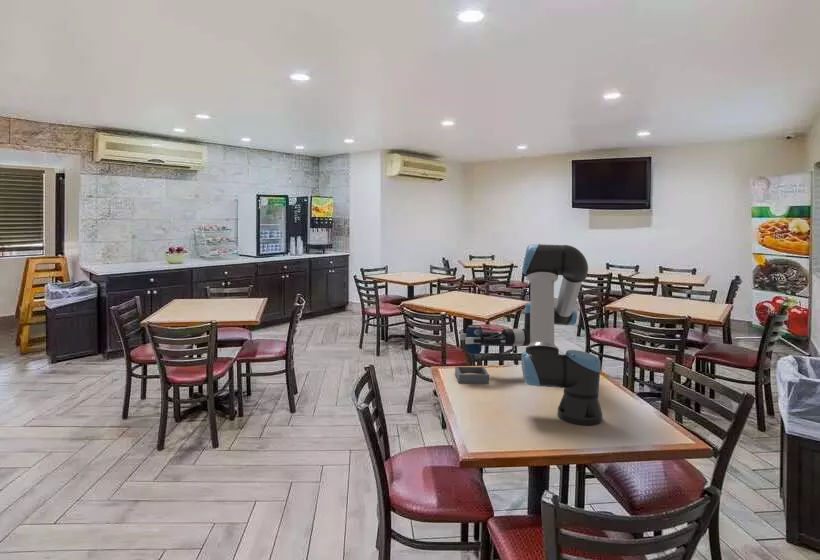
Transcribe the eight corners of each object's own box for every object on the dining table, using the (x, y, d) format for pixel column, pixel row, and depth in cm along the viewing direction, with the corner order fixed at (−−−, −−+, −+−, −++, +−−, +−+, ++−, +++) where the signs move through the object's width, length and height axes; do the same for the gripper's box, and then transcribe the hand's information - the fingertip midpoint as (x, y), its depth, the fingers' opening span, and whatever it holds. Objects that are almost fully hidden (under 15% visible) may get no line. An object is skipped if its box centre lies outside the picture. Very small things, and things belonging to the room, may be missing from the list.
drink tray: (489, 383, 214) (489, 375, 214) (458, 382, 214) (459, 374, 214) (483, 374, 227) (483, 366, 227) (455, 373, 227) (455, 366, 227)
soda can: (482, 355, 216) (483, 327, 215) (466, 355, 216) (467, 327, 215) (479, 351, 223) (480, 324, 222) (464, 350, 223) (465, 324, 222)
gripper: (521, 351, 214) (470, 352, 209) (502, 340, 233) (455, 341, 228) (522, 333, 213) (470, 335, 208) (503, 324, 232) (456, 325, 227)
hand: (463, 338), depth 218 cm, fingers closed on soda can, 7 cm apart
